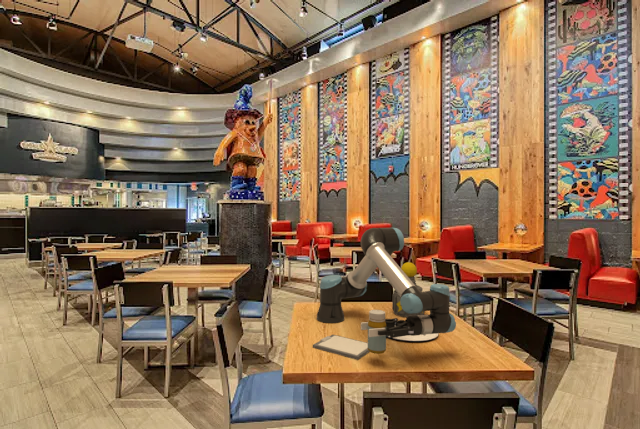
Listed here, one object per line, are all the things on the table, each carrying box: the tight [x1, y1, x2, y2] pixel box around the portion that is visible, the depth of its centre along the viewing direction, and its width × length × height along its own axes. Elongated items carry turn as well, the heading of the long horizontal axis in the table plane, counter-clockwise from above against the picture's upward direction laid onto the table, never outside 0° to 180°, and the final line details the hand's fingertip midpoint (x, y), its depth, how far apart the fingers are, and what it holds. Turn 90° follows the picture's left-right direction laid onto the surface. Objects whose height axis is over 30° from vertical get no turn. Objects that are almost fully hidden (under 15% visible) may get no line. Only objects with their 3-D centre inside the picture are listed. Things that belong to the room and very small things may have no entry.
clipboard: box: [312, 334, 371, 361], centre depth 148 cm, size 22×16×2 cm
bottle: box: [367, 309, 387, 355], centre depth 133 cm, size 7×7×15 cm
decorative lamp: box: [391, 261, 426, 318], centre depth 201 cm, size 19×19×30 cm
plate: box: [386, 333, 440, 342], centre depth 168 cm, size 29×29×2 cm
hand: (365, 329), depth 131 cm, fingers closed on bottle, 7 cm apart
